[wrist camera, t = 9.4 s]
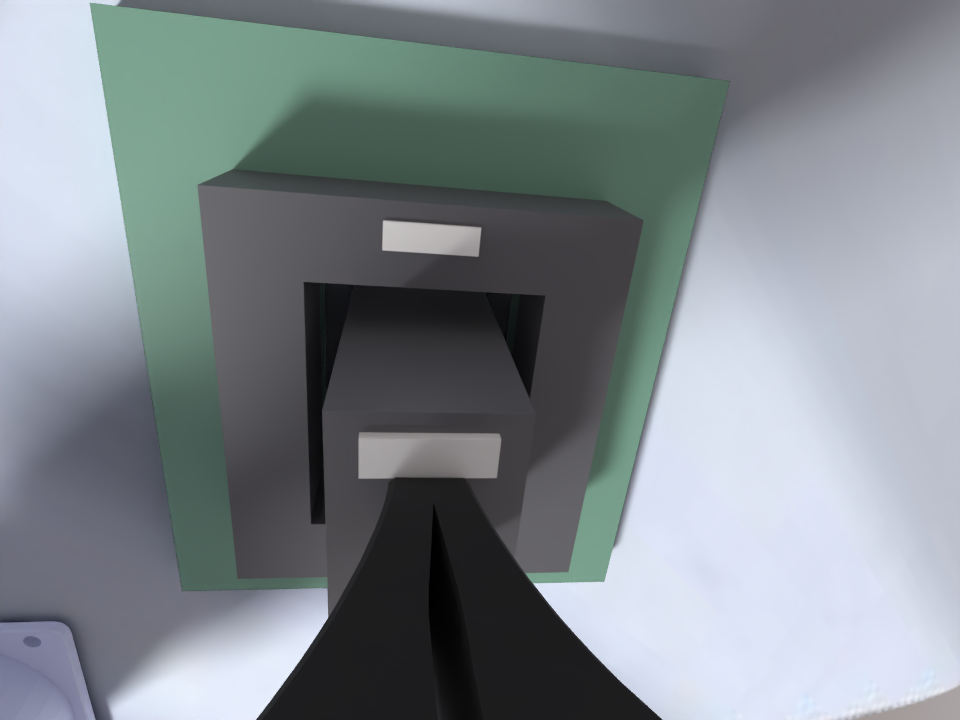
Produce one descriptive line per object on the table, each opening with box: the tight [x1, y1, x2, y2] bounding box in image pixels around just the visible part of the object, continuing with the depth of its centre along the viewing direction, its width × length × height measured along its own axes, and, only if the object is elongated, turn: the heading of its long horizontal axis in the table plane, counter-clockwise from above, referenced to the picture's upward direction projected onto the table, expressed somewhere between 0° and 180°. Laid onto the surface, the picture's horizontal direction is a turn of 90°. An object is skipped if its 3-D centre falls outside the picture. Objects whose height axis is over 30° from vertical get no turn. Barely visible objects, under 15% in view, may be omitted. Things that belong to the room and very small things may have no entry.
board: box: [90, 3, 730, 591], centre depth 15 cm, size 14×16×4 cm
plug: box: [322, 285, 536, 617], centre depth 14 cm, size 4×5×7 cm
